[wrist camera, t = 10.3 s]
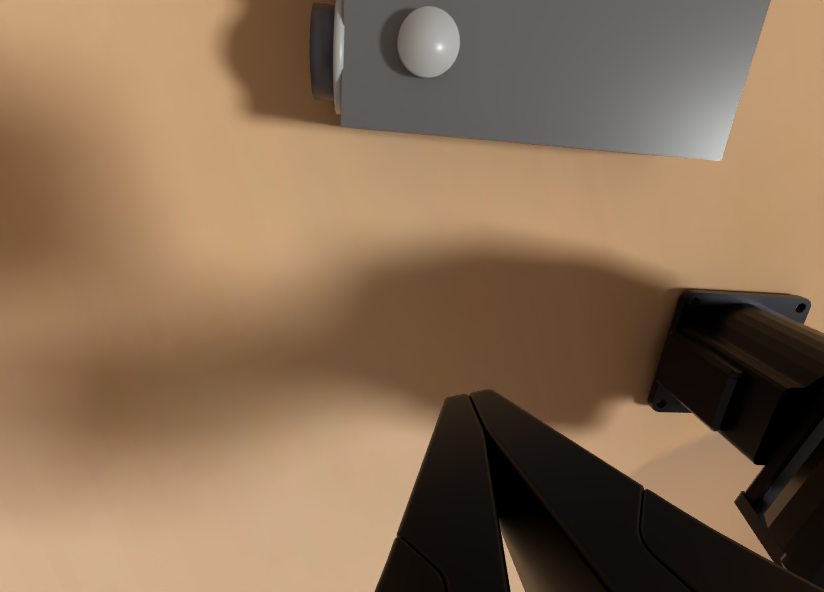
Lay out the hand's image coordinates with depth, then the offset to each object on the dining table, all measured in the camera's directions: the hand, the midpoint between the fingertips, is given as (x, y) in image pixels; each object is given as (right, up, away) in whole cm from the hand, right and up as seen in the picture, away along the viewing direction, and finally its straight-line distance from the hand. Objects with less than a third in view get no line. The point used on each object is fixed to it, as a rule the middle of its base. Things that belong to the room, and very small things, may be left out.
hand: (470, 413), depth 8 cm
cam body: (+3, +12, +9) cm, 15 cm away
